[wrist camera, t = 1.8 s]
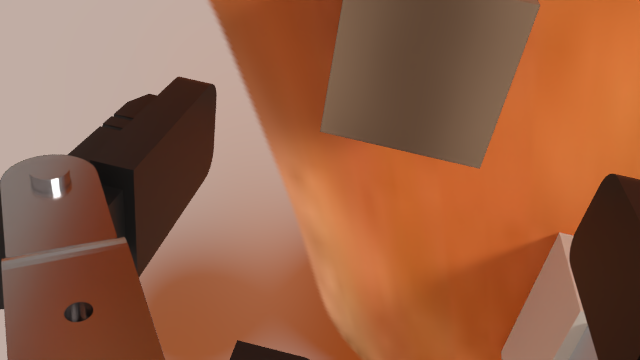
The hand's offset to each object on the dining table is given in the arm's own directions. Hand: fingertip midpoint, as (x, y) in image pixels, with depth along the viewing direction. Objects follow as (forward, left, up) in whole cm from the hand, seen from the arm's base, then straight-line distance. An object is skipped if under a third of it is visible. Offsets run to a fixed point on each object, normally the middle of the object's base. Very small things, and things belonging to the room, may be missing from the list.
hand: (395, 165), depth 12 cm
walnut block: (0, 0, -11) cm, 11 cm away
